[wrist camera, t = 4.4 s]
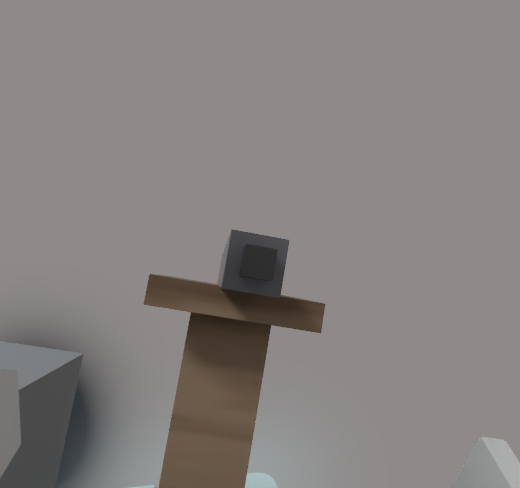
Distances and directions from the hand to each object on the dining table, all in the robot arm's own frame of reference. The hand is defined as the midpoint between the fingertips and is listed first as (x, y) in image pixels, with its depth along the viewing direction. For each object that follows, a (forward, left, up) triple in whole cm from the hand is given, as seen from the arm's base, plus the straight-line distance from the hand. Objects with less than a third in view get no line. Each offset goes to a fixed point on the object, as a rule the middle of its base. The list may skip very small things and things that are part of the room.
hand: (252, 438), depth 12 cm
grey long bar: (-14, +12, +4) cm, 19 cm away
